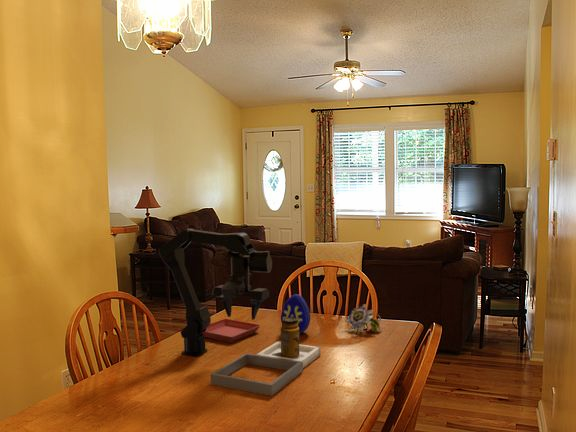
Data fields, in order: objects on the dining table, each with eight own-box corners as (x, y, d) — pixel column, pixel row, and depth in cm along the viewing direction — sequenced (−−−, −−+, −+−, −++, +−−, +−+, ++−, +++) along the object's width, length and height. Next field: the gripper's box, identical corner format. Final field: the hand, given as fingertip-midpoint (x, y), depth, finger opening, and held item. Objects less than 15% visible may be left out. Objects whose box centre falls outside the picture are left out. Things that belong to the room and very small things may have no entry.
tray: (256, 362, 167) (256, 354, 167) (277, 348, 181) (277, 341, 181) (301, 369, 160) (301, 361, 160) (320, 354, 174) (320, 347, 174)
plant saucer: (261, 332, 201) (261, 324, 201) (232, 345, 186) (231, 336, 186) (225, 326, 211) (225, 318, 211) (194, 337, 196) (194, 329, 196)
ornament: (278, 334, 197) (277, 295, 196) (287, 328, 206) (287, 290, 205) (305, 337, 193) (305, 297, 192) (314, 331, 201) (313, 292, 200)
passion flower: (356, 345, 200) (338, 319, 202) (369, 333, 208) (351, 308, 210) (377, 334, 193) (358, 307, 195) (389, 322, 202) (370, 296, 204)
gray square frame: (210, 384, 150) (210, 374, 149) (246, 362, 167) (245, 353, 167) (272, 396, 141) (271, 385, 141) (302, 371, 159) (302, 361, 158)
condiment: (304, 356, 170) (304, 319, 169) (282, 361, 165) (282, 324, 164) (292, 350, 176) (291, 315, 175) (270, 355, 171) (270, 319, 170)
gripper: (202, 273, 168) (203, 321, 169) (252, 277, 160) (253, 327, 161) (221, 268, 178) (222, 313, 179) (269, 271, 170) (270, 318, 171)
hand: (241, 318), depth 172 cm, fingers open, 9 cm apart
